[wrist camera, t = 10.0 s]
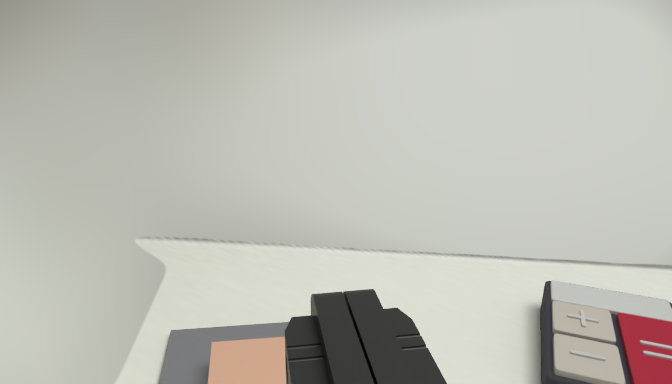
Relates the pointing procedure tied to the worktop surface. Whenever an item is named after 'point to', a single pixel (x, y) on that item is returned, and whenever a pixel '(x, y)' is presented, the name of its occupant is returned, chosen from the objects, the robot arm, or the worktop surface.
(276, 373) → the tile
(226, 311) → the worktop surface
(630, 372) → the calculator
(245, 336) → the mat
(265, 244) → the worktop surface
